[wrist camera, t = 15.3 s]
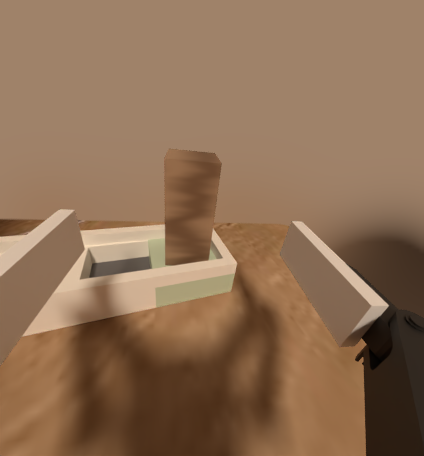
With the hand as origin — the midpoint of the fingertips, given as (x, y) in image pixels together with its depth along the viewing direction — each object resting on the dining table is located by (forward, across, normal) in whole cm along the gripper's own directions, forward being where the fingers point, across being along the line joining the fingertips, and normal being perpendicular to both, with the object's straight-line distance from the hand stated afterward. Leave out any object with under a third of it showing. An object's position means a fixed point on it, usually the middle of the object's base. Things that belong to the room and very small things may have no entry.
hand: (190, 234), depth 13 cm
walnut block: (+10, 0, -9) cm, 13 cm away
